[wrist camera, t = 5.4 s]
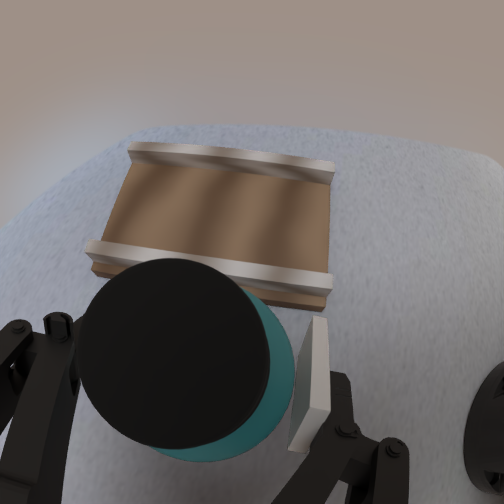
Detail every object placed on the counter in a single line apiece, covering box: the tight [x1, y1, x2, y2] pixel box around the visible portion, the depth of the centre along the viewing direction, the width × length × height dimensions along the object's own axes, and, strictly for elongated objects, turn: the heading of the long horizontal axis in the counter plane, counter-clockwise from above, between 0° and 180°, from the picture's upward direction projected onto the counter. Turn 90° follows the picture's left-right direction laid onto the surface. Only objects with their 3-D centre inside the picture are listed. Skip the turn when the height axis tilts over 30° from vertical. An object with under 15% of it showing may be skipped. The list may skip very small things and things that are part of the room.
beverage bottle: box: [77, 258, 295, 462], centre depth 14 cm, size 6×7×20 cm
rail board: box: [84, 142, 335, 312], centre depth 28 cm, size 20×14×4 cm
